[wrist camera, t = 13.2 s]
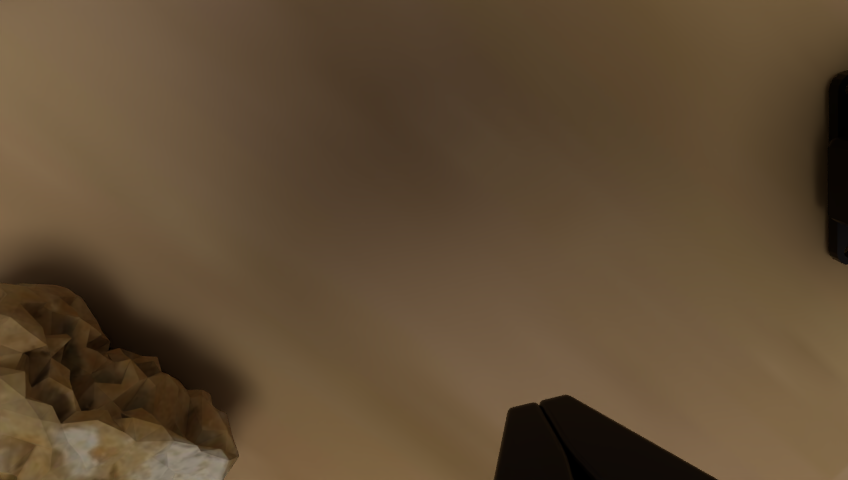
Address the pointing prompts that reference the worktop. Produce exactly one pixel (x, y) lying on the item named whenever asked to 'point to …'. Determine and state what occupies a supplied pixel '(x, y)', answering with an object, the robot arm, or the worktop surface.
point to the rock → (95, 401)
